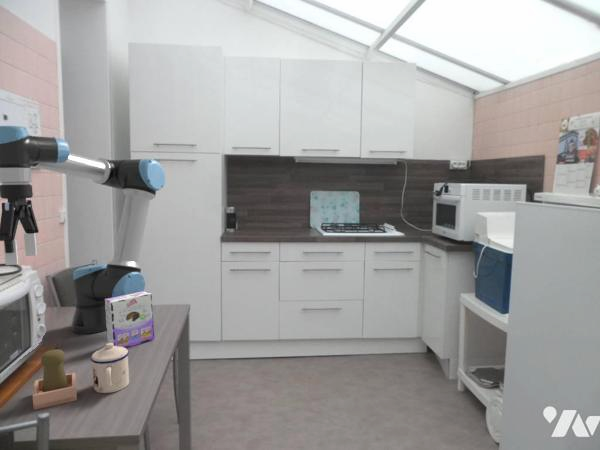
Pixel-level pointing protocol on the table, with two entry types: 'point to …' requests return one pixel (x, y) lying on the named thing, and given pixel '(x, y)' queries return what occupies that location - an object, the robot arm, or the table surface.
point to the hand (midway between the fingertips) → (22, 260)
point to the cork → (53, 370)
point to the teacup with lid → (110, 369)
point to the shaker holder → (54, 393)
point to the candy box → (129, 319)
